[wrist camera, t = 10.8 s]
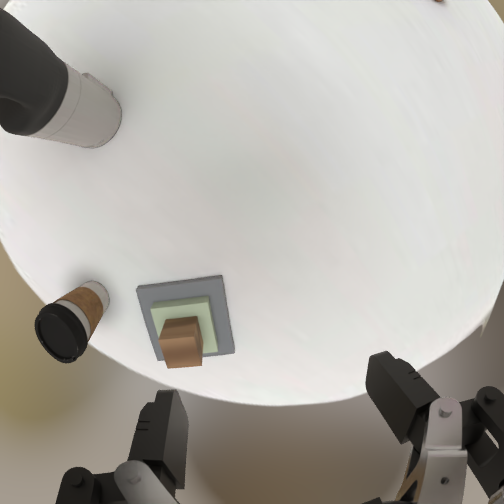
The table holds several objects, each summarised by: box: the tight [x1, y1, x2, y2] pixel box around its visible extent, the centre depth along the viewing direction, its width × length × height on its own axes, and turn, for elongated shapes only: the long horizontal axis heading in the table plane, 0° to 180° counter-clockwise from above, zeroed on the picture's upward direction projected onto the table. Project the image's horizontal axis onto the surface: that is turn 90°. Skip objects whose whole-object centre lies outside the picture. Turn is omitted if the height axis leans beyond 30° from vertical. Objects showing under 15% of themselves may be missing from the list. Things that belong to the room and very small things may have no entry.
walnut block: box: [158, 316, 204, 368], centre depth 38 cm, size 5×5×6 cm
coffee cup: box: [35, 281, 109, 363], centre depth 35 cm, size 8×8×15 cm
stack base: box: [136, 275, 235, 361], centre depth 43 cm, size 14×14×4 cm
